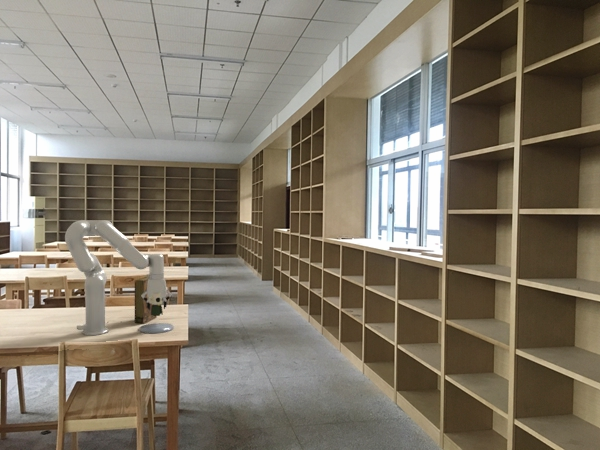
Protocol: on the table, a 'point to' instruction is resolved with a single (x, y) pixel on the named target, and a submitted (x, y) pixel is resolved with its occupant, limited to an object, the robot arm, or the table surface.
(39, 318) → the table surface
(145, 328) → the saucer
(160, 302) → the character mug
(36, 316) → the table surface
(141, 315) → the book
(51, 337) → the table surface
